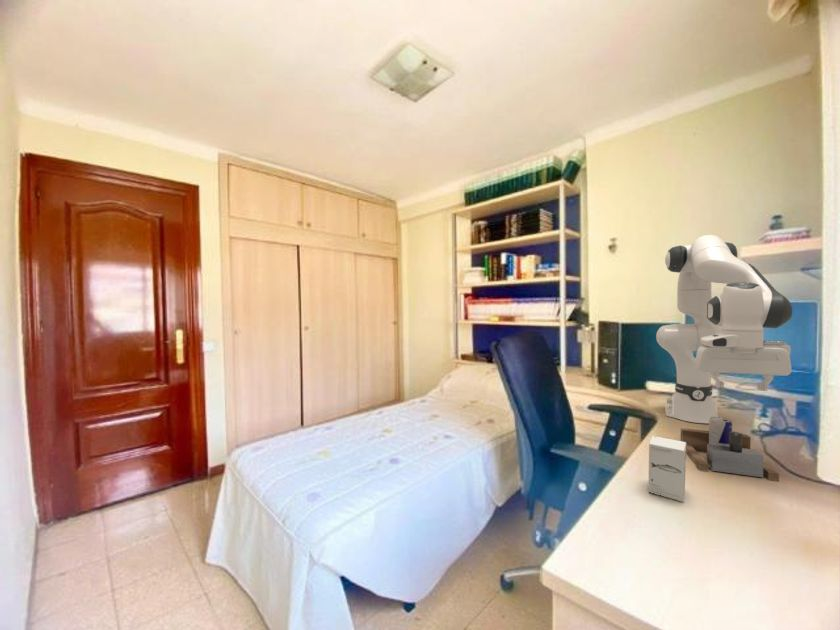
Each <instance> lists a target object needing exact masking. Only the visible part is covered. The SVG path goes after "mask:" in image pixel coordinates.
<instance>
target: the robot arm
mask: <svg viewBox="0 0 840 630" xmlns="http://www.w3.org/2000/svg"><path fill="white" fill-rule="evenodd" d="M738 253H739V252H738V250H737V247H736V245H735V244H734V243H732V242H725V241H724V240H723V239H722V238H721V237H720V236H718V235H715V234H705V235H702V236H699V237H698V238H696V239H695V240H694V241H693V242H692V244H685V245H676V246H673V247H670V248H669V249H668V251H667V253H666V254H665V257H664V262H665V263H664V264H665V266H666V269H667V270H668V271H670V272H672V273H677V274H678V278H677V279H678V280H677V289H676V290H677V291H676V292H677V295H676V300H677V301H676V303H677V305H676V306H677V310H678V311H679V312H680V313H682V314H684V315H686V316H689V317H691V318H692V319H693V321H694V323H674V324H673V323H672V324H666V325H661V326H660V327H659V328H658V330H657V331H656V336H655V338H656V339H655V340H656V342H657V344H658V345H659V346H660V347H661V348H662V349H664V350H665V351H666V352H667V353H668V354H669V355H670V356H671V357H672V359H673V361H674V364H675V369H676V382H675V386H674V393H672V394H671V397H667V398H666V404H669V405H665V406H664V411H665V416H666V417H669V418H674V419H678V420H681V421H684V422H689V423H694V424H695V423H696V424H709V419H710V417H719V416H718V404H717V399H716V398H714V397H713V396H712V395H713V386H712V383H711V382H712V379H713V380H714V381H715V382H714V384H715V385H714V386H715V388H716V389H718V388H719V389H724V388H725V382H724V381H722V380H720V379H719V376H720V374H721V373H724V374H725V373H727V374H743V375H744V374H746V375H761V376H762V378H764V379H762V381H761V382H757V390H758V391H761V392H763V391H764V392H767V391H768V386H769V385H770V383H771V382H772V381H773V380H774V376H780V377H781V376H784V377H787V376H789V375H790V374H792V362H791V357H790V356H791V354H792V347H791V346H790V344H788V343H787V342H784V341H783V340H776V341H775V340H774V341H773V340H764V330H765V329H764V328H768V329H777V328H779V327H782V326H783V325H785V324H786V323H788V322H789V321H790V320H791V318H792V316H793V306H792V304H791V301H790V300H789V299H788V297H786V296H785V295H784V294H782V293H780V292H779V291H777V289H775V287H774V286H773V285H772V284H771V283H770V282H769V281H768V280H767V279H766V277H765V276H764V275H763V274H762V273H761V272H760V271H759V270H758V269H757V268H756V267H755V266H754V265H753V264H750V263H748V262H746V261H743V260H742V259H740V258H738V256H739V255H738ZM712 283H715V284H724V286H723V289H722V290H723V291H722V293H721V294H719V295H715V296H714V297H712ZM693 352H696V354H695V355H696V356H694V353H693ZM711 377H712V378H711Z"/></svg>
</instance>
